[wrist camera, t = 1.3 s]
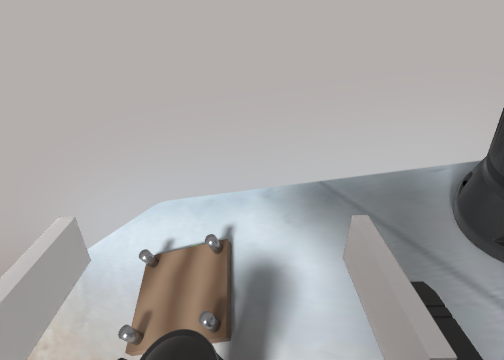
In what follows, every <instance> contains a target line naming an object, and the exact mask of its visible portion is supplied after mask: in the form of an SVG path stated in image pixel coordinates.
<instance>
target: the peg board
mask: <svg viewBox="0 0 504 360" xmlns="http://www.w3.org/2000/svg"><path fill="white" fill-rule="evenodd" d="M205 242H206V243H207V244H202V245H198V246H194V247H189V248H185V249H180V250H176V251H171V252H167V253H162V254H158V255H153V254H152V253H150V252H149V251H148V250H147V249H145V250H143V251H141V252H140V254H139V258H140V259H141V260H142V261H144V262H145V263H146V267H145V271H144V275H143V280H142V284H141V288H140V292H139V297H138V301H137V305H136V309H135V313H134V318H133V322H132V326H129V325H124V326H123V327H122V328H121V329H120V331H119V334H118V335H119V338H120V339H123V340H125V341H127V342H128V343H127V347H126V352H125V353H127V354H129V355H131V356H134V355H140V354H144V353H145V352H146V350H147V349H148V348H149V347H150V346H151V345H152V344H153V343H154V342H155V341H156V340H157V339H159V338H160V337H162V336H163V335H165V334H167V333H169V332H171V331H175V330H179V329H190V330H194V331H197V332H199V333H200V334H202V335H203V336H205V337H206V338H207V339H208V340H209V341H210V342H211V343H218V342H224V341H230V288H231V243H230V242H229V241H228V239H225V240H220V241H218V239H217V238H216V237H215V235H213V234H210V235H208V236H207V237H206V239H205Z"/></svg>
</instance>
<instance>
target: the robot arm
mask: <svg viewBox="0 0 504 360" xmlns="http://www.w3.org/2000/svg"><path fill="white" fill-rule="evenodd" d="M453 209H454V215H455V219H456V221H457V223H458V225H459V227H460V229H461V230H462V231H463V233H464V234H465V235H466V236H467V237H468V239H469V240H470V241H472V242H473V243H474V244H475V245H476V246H477V247H479V248H480V249H481V250H483V251H484V252H486V253H487V254H489V255H490V256H492V257H494V258H496V259H498V260H500V261H502V262H504V108H503V112H502V114H501V117H500V120H499V123H498V126H497V129H496V132H495V135H494V138H493V140H492V143H491V146H490V149H489V152H488V154H487V156H486V157H485V158H484V159H483V160H482V161H481V162H480V163H479V164H478V165H477V166H476V167H475V168H474V169H473V170H472V171H471V172H470V173H469V174H468V175H467V176H466V177H465V178H464V179H463V180H462V182H461V183H460V185H459V187H458V189H457V193H456V196H455V200H454V205H453ZM343 259H344V262H345V264H346V266H347V269H348V271H349V274H350V276H351V279H352V281H353V284H354V286H355V289H356V291H357V293H358V296H359V298H360V301H361V303H362V306H363V308H364V311H365V313H366V315H367V318H368V320H369V323H370V325H371V328H372V330H373V333H374V335H375V337H376V340H377V342H378V345H379V347H380V350H381V352H382V355H383V357H384V360H483V359H482V358H481V356H480V355H479V353H478V352H477V350H476V349H475V348H474V346H473V345H472V343H471V342H470V340H469V339H468V337H467V336H466V335H465V333H464V332H463V330H462V329H461V327H460V326H459V325H458V323H457V322H456V320H455V319H453V318H452V315H451V313H450V312H449V310H448V309H447V308H445V305H444V303H443V302H442V300H441V299H440V297H439V296H438V295H437V293H436V292H435V291H434V290H433V289H431V288H430V287H429V286H428V285H427V284H425V283H424V282H410V281H409V280H408V278H407V276H406V275H405V273H404V272H403V270H402V268H401V267H400V265H399V264H398V262H397V260H396V259H395V257H394V256H393V254H392V252H391V251H390V249H389V248H388V246H387V244H386V243H385V241H384V240H383V238H382V237H381V235H380V233H379V232H378V230H377V229H376V227H375V225H374V224H373V222H372V221H371V219H370V217H369V216H368V215H352V218H351V223H350V227H349V232H348V237H347V241H346V246H345V251H344V255H343ZM90 261H91V259H90V256H89V254H88V251H87V248H86V246H85V243H84V240H83V237H82V235H81V232H80V229H79V226H78V224H77V221H76V218H75V217H58V218H57V220H56V221H54V223H53V224H52V225H51V226H50V227H49V228H48V229H47V230H46V231H45V232H44V233H43V234H42V235H41V236H40V237H39V238H38V240H36V241H35V243H33V245H32V246H31V247H30V248H29V249H28V250H27V251H26V252H25V253H24V254H23V255H22V256H21V257H20V258H19V259H18V260H17V261H16V262H15V263H14V264H13V265H12V267H11V268H10V269H9V270H8V271H7V272H6V273H5V274H4V275H3V276H2V277H1V278H0V360H27V358H28V356H29V355H30V353H31V352H32V350H33V349H34V347H35V346H36V344H37V343H38V341H39V339H40V338H41V336H42V335H43V333H44V332H45V330H46V329H47V327H48V326H49V324H50V323H51V321H52V319H53V318H54V316H55V315H56V313H57V312H58V310H59V309H60V307H61V306H62V304H63V302H64V301H65V299H66V298H67V296H68V295H69V293H70V292H71V290H72V289H73V287H74V286H75V284H76V282H77V281H78V279H79V278H80V276H81V275H82V273H83V272H84V270H85V269H86V267H87V265H88V264H89V262H90Z"/></svg>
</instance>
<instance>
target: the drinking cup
mask: <svg viewBox="0 0 504 360" xmlns="http://www.w3.org/2000/svg"><path fill="white" fill-rule="evenodd" d="M118 360H127V359H124V358H119V359H118ZM140 360H223V359H222V358H221V357H220V356H219V355H218V354H217V353H216V351H215V349H214V347H213V345H212V344H211V342H210V341H209V340H208V339H207V338H206V337H205V336H203V335H202V334H200V333H199V332H197V331H194V330H190V329H179V330H175V331H171V332H169V333H167V334H165V335H163V336H162V337H160V338H159V339H157V340H156V341H155V342H154V343H153V344H152V345H151V346H150V347H149V348H148V349H147V350H146V352H145V353H144V354H143V356H142V357H141V359H140Z"/></svg>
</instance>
